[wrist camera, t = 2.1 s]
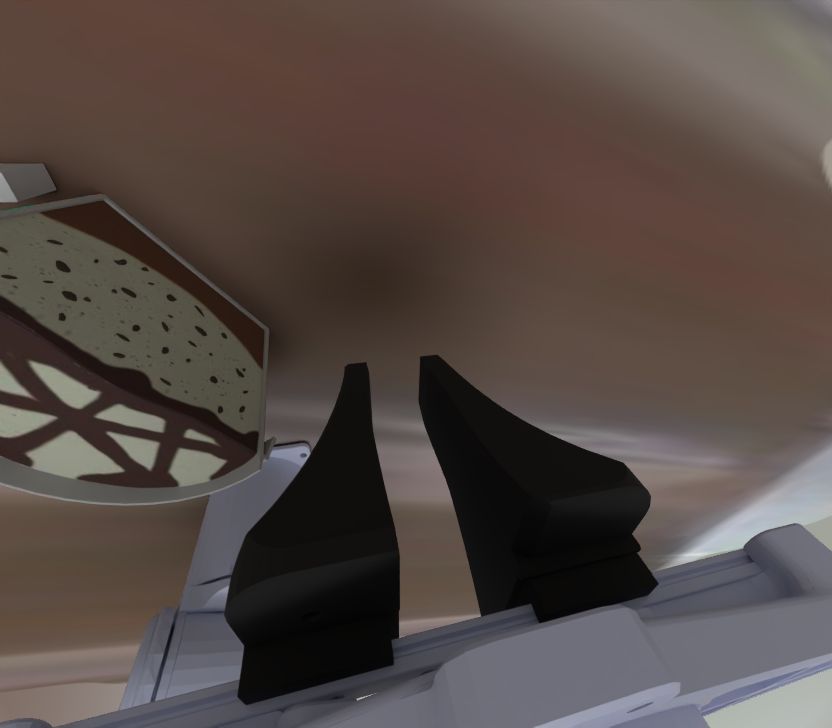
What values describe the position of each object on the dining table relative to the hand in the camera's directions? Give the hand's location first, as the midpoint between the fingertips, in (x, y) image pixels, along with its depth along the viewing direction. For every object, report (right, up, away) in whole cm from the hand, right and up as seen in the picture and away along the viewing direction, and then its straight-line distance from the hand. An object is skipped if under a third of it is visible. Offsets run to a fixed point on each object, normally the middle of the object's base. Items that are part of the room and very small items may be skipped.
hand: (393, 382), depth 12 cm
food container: (-13, +4, +7) cm, 15 cm away
